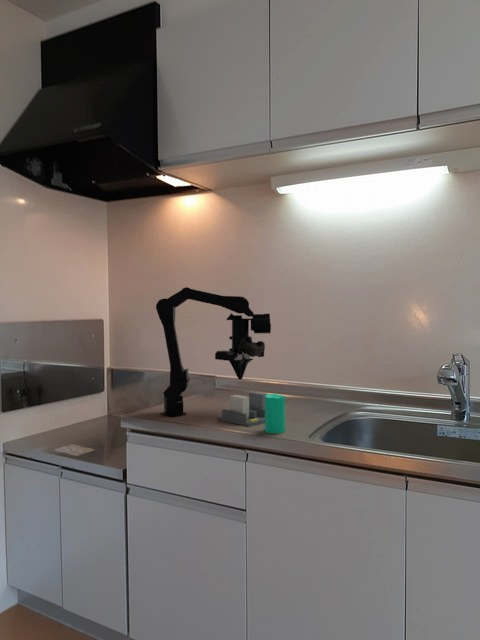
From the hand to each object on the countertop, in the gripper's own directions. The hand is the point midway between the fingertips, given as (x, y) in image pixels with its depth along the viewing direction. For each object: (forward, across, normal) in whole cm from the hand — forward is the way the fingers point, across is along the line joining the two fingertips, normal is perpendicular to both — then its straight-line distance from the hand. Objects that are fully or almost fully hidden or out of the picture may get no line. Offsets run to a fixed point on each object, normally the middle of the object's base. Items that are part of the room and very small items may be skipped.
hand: (240, 379), depth 169 cm
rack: (+12, -3, -7) cm, 14 cm away
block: (+11, -8, -7) cm, 15 cm away
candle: (+12, -9, -23) cm, 28 cm away
